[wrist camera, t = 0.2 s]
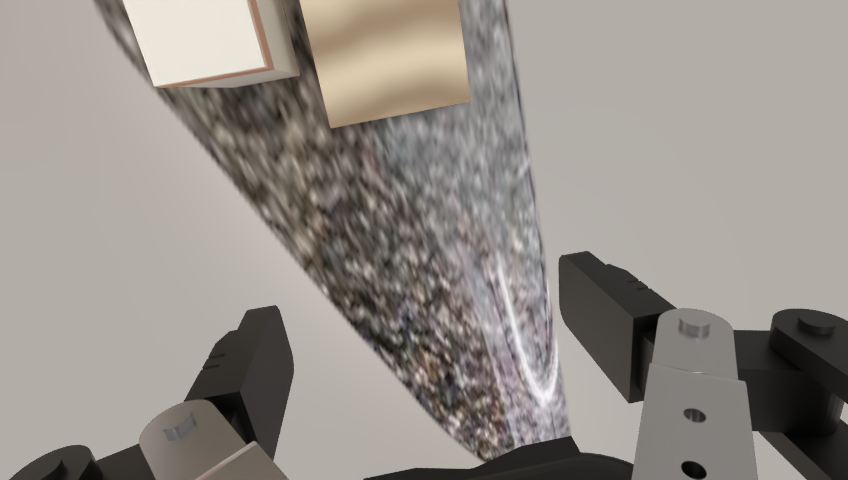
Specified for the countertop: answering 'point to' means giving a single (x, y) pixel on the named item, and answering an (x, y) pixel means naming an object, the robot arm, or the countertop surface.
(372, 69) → the tan wooden block
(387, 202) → the countertop surface
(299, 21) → the countertop surface
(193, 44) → the carton
